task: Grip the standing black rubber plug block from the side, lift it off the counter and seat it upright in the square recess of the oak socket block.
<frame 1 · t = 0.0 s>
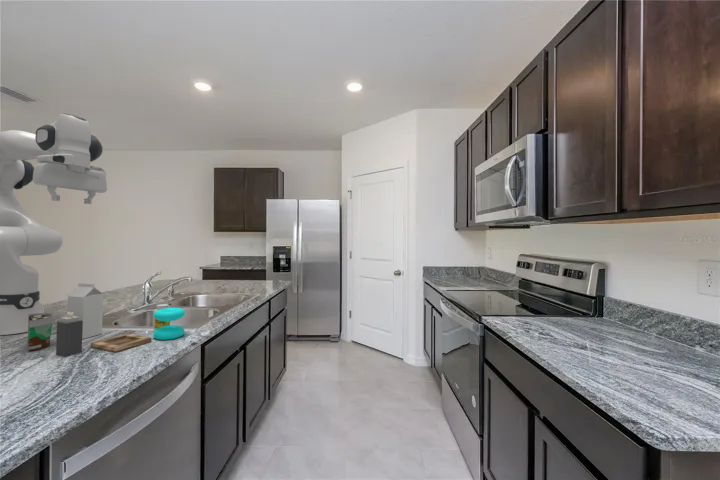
hand: (72, 202, 112), 48 cm above the countertop, tool pointing down, fingers open, 8 cm apart
donuts: (169, 337, 121), on the countertop
plug: (69, 353, 101), on the countertop
milk carton: (84, 336, 118), on the countertop
food container: (41, 346, 107), on the countertop
socket block: (121, 344, 110), on the countertop
supplement bottle: (162, 329, 130), on the countertop
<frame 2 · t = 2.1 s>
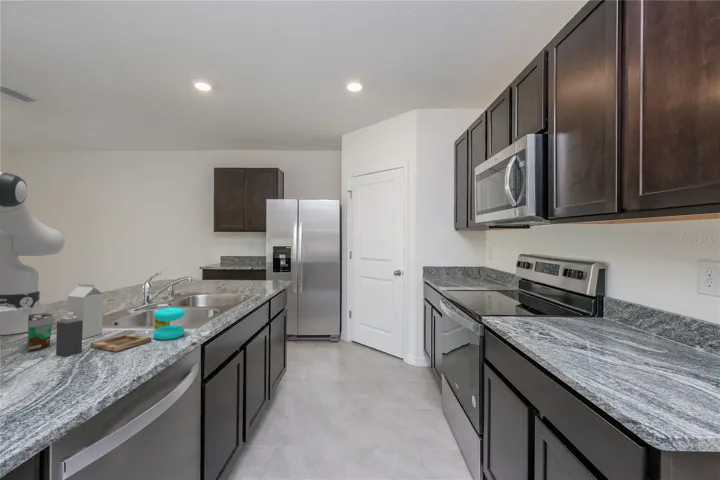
hand: (19, 308, 90), 16 cm above the countertop, tool horizontal, fingers open, 8 cm apart
nothing on the countertop moved.
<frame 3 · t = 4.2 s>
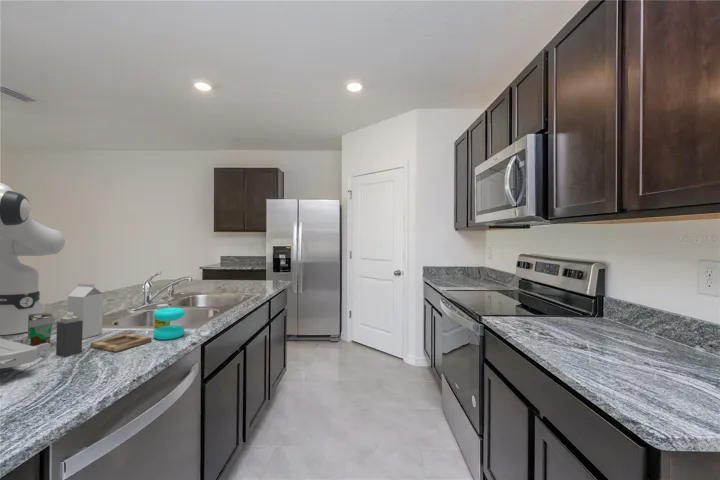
hand: (38, 343, 94), 5 cm above the countertop, tool horizontal, fingers open, 8 cm apart
nothing on the countertop moved.
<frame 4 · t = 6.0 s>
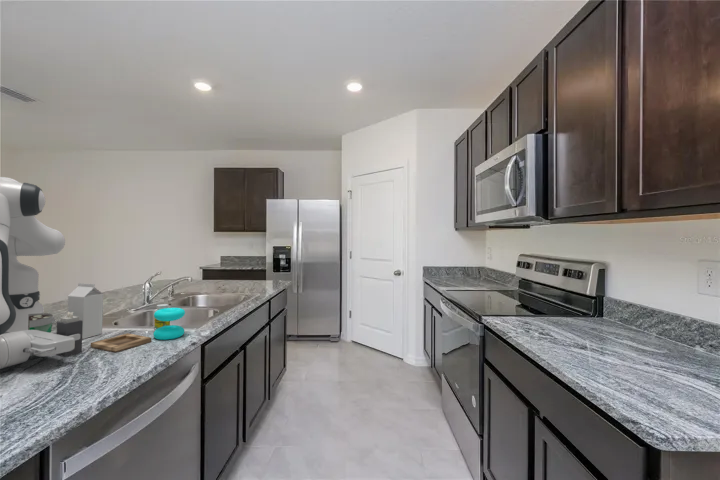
hand: (72, 334, 102), 6 cm above the countertop, tool horizontal, fingers closed on plug, 4 cm apart
plug: (69, 353, 101), on the countertop, touching gripper
everything else where it was.
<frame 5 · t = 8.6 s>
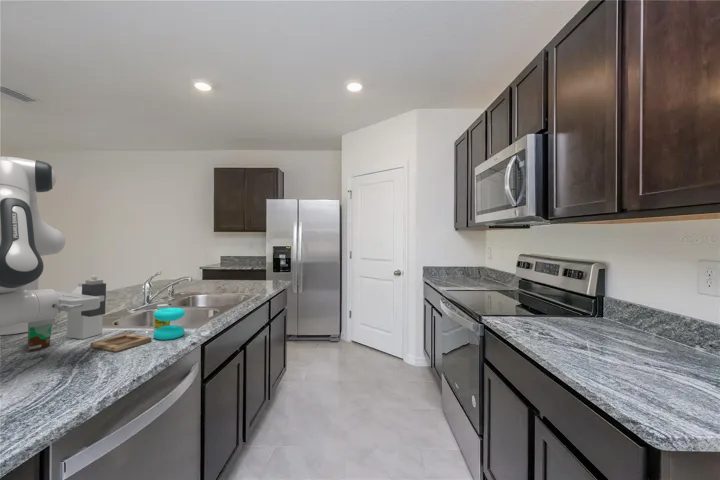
hand: (97, 297, 106), 17 cm above the countertop, tool horizontal, fingers closed on plug, 4 cm apart
plug: (93, 314, 105), point 11 cm above the countertop, touching gripper
everything else where it was.
when the fingers open (7 cm above the countertop, at t = 11.2 s): plug drops 1 cm, resting on socket block.
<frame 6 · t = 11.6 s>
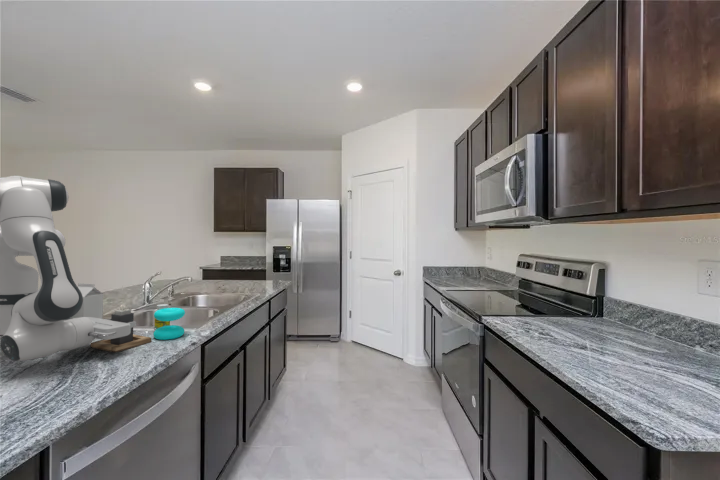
hand: (125, 322, 111), 7 cm above the countertop, tool horizontal, fingers open, 8 cm apart
plug: (121, 343, 110), point 1 cm above the countertop, touching socket block
everything else where it was.
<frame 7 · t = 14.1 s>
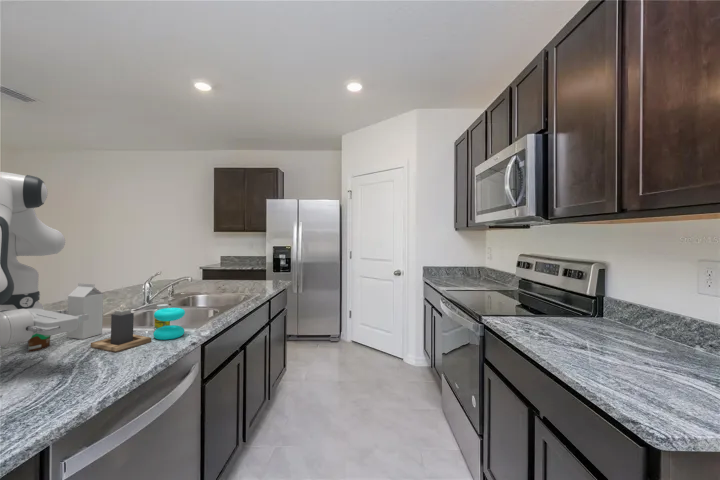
hand: (76, 314, 99), 13 cm above the countertop, tool horizontal, fingers open, 8 cm apart
nothing on the countertop moved.
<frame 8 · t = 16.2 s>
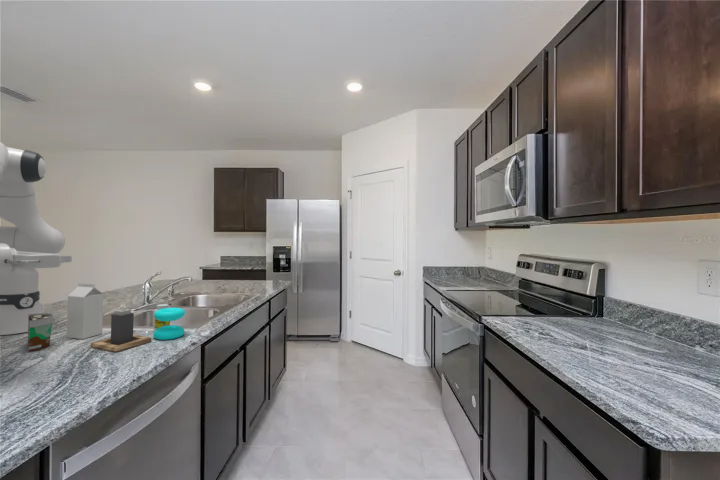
hand: (59, 258, 97), 30 cm above the countertop, tool horizontal, fingers open, 8 cm apart
nothing on the countertop moved.
at the end: plug 0.0 cm off-centre on the socket block, point 0.5 cm above the socket block's base; plug tilted 0°; the gripper is holding nothing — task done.
